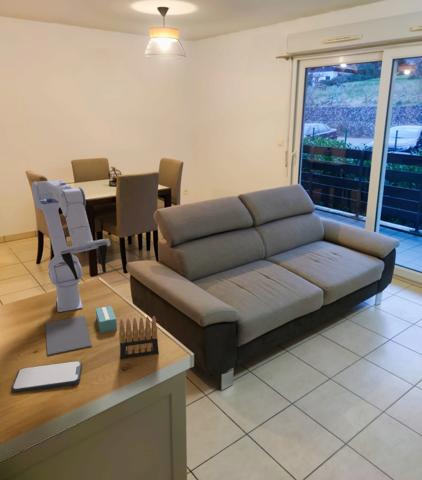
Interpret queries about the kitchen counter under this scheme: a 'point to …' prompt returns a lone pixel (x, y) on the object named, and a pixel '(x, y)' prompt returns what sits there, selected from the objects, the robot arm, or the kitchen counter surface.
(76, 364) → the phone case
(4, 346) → the kitchen counter surface
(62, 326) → the mat
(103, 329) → the card box
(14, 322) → the kitchen counter surface
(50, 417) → the kitchen counter surface
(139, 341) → the ammunition clip
